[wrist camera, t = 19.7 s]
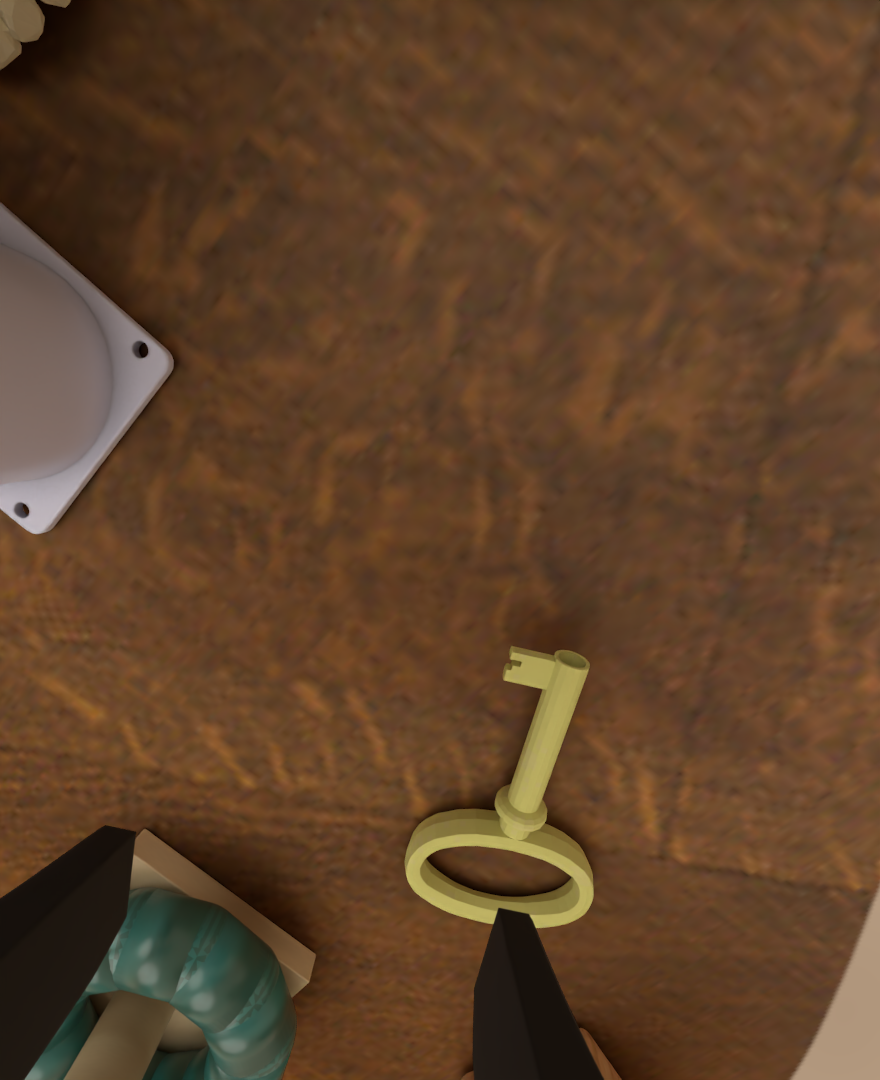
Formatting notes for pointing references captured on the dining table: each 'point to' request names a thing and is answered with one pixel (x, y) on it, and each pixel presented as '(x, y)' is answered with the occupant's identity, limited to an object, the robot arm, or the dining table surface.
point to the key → (516, 809)
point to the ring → (190, 991)
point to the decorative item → (602, 1062)
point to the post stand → (149, 1024)
